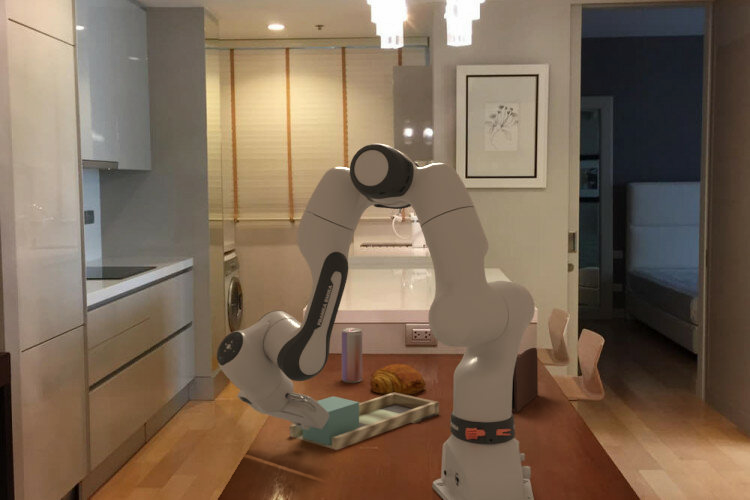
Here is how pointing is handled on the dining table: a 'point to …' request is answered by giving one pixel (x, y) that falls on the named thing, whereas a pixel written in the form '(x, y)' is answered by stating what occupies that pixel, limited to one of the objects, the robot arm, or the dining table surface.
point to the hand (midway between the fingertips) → (305, 426)
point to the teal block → (335, 420)
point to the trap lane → (380, 418)
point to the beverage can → (351, 355)
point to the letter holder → (525, 379)
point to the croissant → (397, 380)
